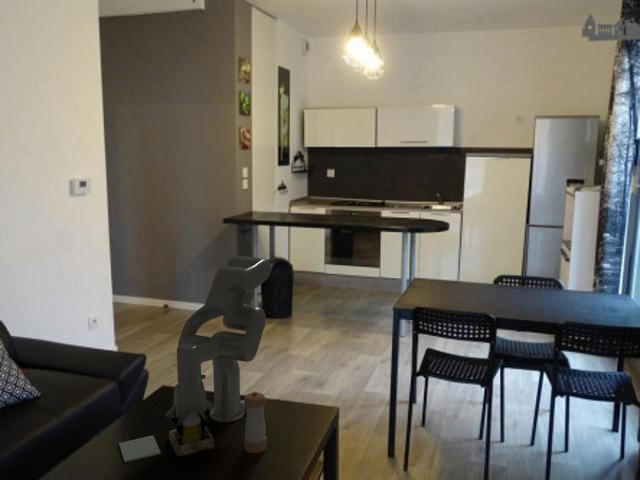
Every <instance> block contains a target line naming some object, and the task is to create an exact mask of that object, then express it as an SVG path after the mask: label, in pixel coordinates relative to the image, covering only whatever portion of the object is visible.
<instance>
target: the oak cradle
mask: <svg viewBox="0 0 640 480" xmlns="http://www.w3.org/2000/svg"><path fill="white" fill-rule="evenodd" d="M201 435H203V437H204V439H201V441H197V442H193V443H189V444H185V445H182V444H181V445H180V443H179V441H178V440H179V439H181V437H180V435H179V433H177V429H172V430H169V431H168V438H169V442H170V444H171V446H172V448H173V450H174V452H175V454H176V456H177V457H182V456H186V455H190V454H195V453H198V452H202V451H207V450H210V449H214V448H215V447H216V446H215V444H216V443H215V438H214V436H213V434H212V433H211V432H210V430H209V429H208V427H207V425H206V424H205V427H204V431H201Z"/></svg>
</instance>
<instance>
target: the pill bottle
mask: <svg viewBox="0 0 640 480" xmlns="http://www.w3.org/2000/svg"><path fill="white" fill-rule="evenodd" d="M181 424H182V431H183V436H181V438H180V439H181V445H185V444H189V443H193V442H197V441H201V440H202V433H201V418H200V415H198V414H195V413H191V414H189V416H185V417H183V419H182V422H181Z"/></svg>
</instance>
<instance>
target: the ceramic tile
mask: <svg viewBox="0 0 640 480" xmlns="http://www.w3.org/2000/svg"><path fill="white" fill-rule="evenodd" d="M157 443H158V442H157V441H156V439H155V437H154V435H149V436H144V437H140V438H136V439H132V440H126V441H121V442H118V445H119V450H120V452H121V455H122V458H123V462H124V463H129V462H134V461H137V460H142V458H143V459H146V458H150V457H154V456H158V455H161V450H160V448H159V446H158V444H157Z"/></svg>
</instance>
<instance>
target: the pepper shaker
mask: <svg viewBox="0 0 640 480" xmlns="http://www.w3.org/2000/svg"><path fill="white" fill-rule="evenodd" d="M243 400H244V403H245V405H246V406H247V407H246V419H245V420H246V421H245V427H244V433H245V434H244V435H245V436H244V438H243V439H244V441H243V442H244V444H243V445H244V447H243V448H244V450H245V451H246V452H247V453H249V454H250V453H251V454H258V453H263V452H264V451H266V450H267V449H268V448H267V446H268V441H267V439H268V437H267V435H266V432H267V431H266V427H267V426H266V423H265V411H264V410H265V409H264V405H266V401H267V399H266V396H265V395H264V394H263V393H261V392H257V391H253V392H251V393H248V394H247V395H245V397H244V399H243Z"/></svg>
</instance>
